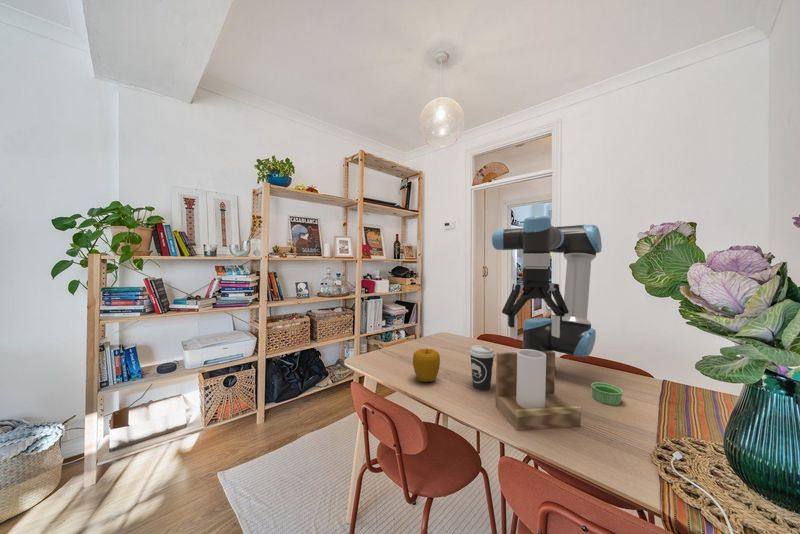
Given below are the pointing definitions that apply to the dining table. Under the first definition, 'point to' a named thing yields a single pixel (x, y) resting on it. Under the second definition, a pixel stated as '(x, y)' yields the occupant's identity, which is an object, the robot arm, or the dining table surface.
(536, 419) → the shelf
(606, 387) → the ramekin
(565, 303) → the robot arm
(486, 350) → the coffee cup
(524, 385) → the cup
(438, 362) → the apple
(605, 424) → the dining table surface
